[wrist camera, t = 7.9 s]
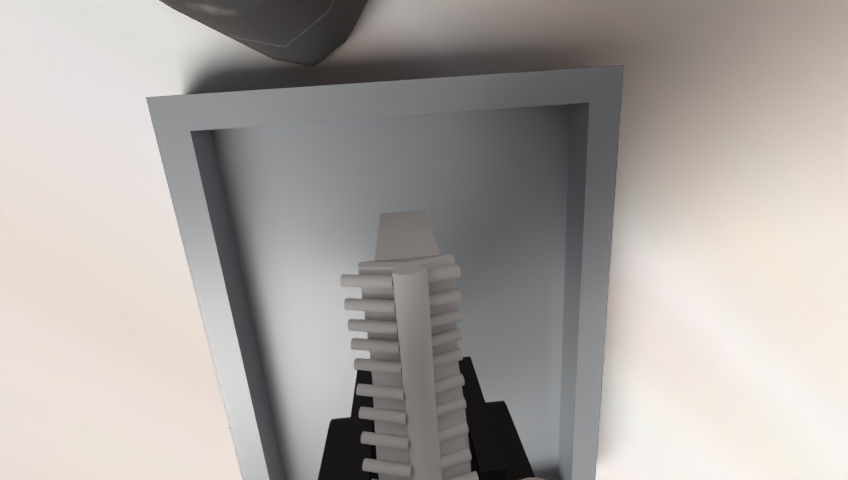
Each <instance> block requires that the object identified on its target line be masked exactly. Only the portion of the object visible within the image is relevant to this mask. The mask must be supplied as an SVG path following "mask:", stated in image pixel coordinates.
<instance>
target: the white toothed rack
mask: <svg viewBox="0 0 848 480" xmlns="http://www.w3.org/2000/svg"><path fill="white" fill-rule="evenodd" d="M358 271H359V275H353V274H342V275H341V278H340V284H341V286H343V287H361V292H362V299H356V298H346V299H345V301H344V309H345V310H354V311H364V313H365V320H363V319H349V321H348V330H349V331H363V332H367V336H368V339H362V338H353V339H352V340H351V349H352V350H364V351H369V353H370V359H363V358H356V359H355V360H354V369H355V370H365V371H371V373H372V383H373V385H369V384H358V385H357V389H356V394H357V395H360V396H369V397H373V404H374V408H370V407H360V409H359V418H360V419H368V420H374V426H375V433H373V432H365V431H363V432H362V434H361V443H362V444H370V445H376V455H377V460H375V459H368V458H365V459H364V461H363V465H362V470H363V471H368V472H374V473H378V478H379V480H479V478H478V474H477V472H476V471H474V472H471V462H470V460H471V459H472V456H471V452H470V449H469V440H468V432H469V429H468V425H467V421H466V412H465V408H466V401H465V398H464V397H463V390H462V386H463V385H465V381H464V377H463V375H462V374H460V370H459V364H458V361H460V360H462V359H463V355H462V351H461V349H460V348H458V349H457V341H459V340H462V333H461V330H460V329H459V328H457V326H456V322H459V321H461V319H462V317H461V312H460V310H459V309H456V301H460V300H461V292H460V290H459V289H458V288H456V285H455V278H457V277H460V275H461V271H460V267H459V265H457V264H456V265H455V259H454V256H453V254H446V255H441V254H440V252H439V249H438V246H437V243H436V241H435V238H434V235H433V232H432V230H431V227H430V224H429V221H428V219H427V216H426V213H425V210H419V211H406V212H394V213H382V214H380V219H379V227H378V236H377V244H376V253H375V261H368V262H359V265H358ZM372 480H377V479H372Z"/></svg>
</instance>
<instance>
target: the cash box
mask: <svg viewBox="0 0 848 480" xmlns="http://www.w3.org/2000/svg"><path fill="white" fill-rule="evenodd" d="M160 1H161V2H163V3H165V4H166V5H168V6H170V7H171V8H173V9H175V10H177V11H179V12H181V13H183V14H185V15H187V16H189V17H191V18H193V19H195V20H197V21H199V22H201V23H203V24H205V25H207V26H209V27H211V28H212V29H214V30H216V31H218V32H220V33H222V34H224V35H226V36H228V37H230V38H232V39H234V40H236V41H238V42H240V43H242V44H244V45H246V46H248V47H250V48H252V49H254V50H256V51H258V52H260V53H262V54H264V55H266V56H268V57H270V58H272V59H275V60H281V61H286V62H292V63H298V64H304V65H309V66H315V65H317V64H318V63H319V62H320V61H321V60H323V59H324V58H325V57H326V56H328V55H329V54H330V53H331V52H333V51H334V50H335V49H336V48H338V47H339V46H340V45H341V44H342V43H344V42H345V41H346V39H347V37H348V35H349V33H350V31H351V29H352V27H353V25H354V23H355V22H356V20H357V18H358V16H359V14H360V12H361V10H362V8H363V6H364V4H365V2H366V0H160Z"/></svg>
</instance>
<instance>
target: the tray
mask: <svg viewBox="0 0 848 480" xmlns="http://www.w3.org/2000/svg"><path fill="white" fill-rule="evenodd" d="M622 79H623V65H619V66H604V67H589V68H575V69H560V70H545V71H530V72H515V73H500V74H485V75H470V76H456V77H441V78H426V79H411V80H396V81H381V82H366V83H351V84H337V85H322V86H307V87H292V88H277V89H262V90H247V91H232V92H218V93H203V94H188V95H173V96H158V97H146V99H147V103H148V107H149V111H150V115H151V119H152V123H153V127H154V131H155V135H156V139H157V143H158V147H159V151H160V155H161V159H162V163H163V167H164V171H165V175H166V179H167V183H168V187H169V190H170V194H171V198H172V202H173V206H174V210H175V214H176V218H177V222H178V226H179V230H180V234H181V238H182V242H183V246H184V250H185V254H186V258H187V262H188V266H189V270H190V274H191V278H192V282H193V286H194V289H195V293H196V297H197V301H198V305H199V309H200V313H201V317H202V321H203V325H204V329H205V333H206V337H207V341H208V345H209V349H210V353H211V357H212V361H213V365H214V369H215V373H216V377H217V381H218V385H219V388H220V392H221V396H222V400H223V404H224V408H225V412H226V416H227V420H228V424H229V428H230V432H231V436H232V440H233V444H234V448H235V452H236V456H237V460H238V464H239V468H240V472H241V476H242V480H318V476H319V471H320V466H321V462H322V457H323V452H324V447H325V443H326V438H327V433H328V428H329V424H330V421H331V420H332V419H338V418H347V417H351V411H352V404H353V397H354V390H355V383H356V376H357V370H355V369H354V360H355V359H356V358H363V359H370V353H369V351H364V350H352V349H351V340H352V339H353V338H362V339H368V336H367V332H363V331H349V330H348V321H349V319H363V320H365V313H364V311H354V310H345V309H344V301H345V299H346V298H356V299H362V292H361V287H343V286H341V284H340V278H341V275H342V274H353V275H359V271H358V265H359V262H368V261H375V253H376V244H377V236H378V227H379V219H380V214H382V213H394V212H406V211H419V210H425V213H426V216H427V219H428V221H429V224H430V227H431V230H432V232H433V235H434V238H435V241H436V243H437V246H438V249H439V252H440V254H441V255H446V254H453V256H454V259H455V265H456V264H457V265H459V267H460V271H461V275H460V277H457V278H455V285H456V288H458V289H459V290H460V292H461V300H460V301H456V309H459V310H460V312H461V317H462V319H461V321H459V322H456V326H457V328H459V329H460V330H461V333H462V340H459V341H457V349H458V348H460V349H461V351H462V355H463V357H469V356H470V357H471V360H472V363H473V366H474V369H475V372H476V375H477V378H478V381H479V385H480V388H481V391H482V394H483V397H484V400H485V402H495V401H504V402H505V403H506V405H507V407H508V410H509V412H510V415H511V417H512V420H513V422H514V425H515V427H516V430H517V432H518V435H519V438H520V440H521V443H522V445H523V448H524V450H525V453H526V455H527V458H528V460H529V463H530V465H531V468H532V470H533V473H534V475H535V478H542V479H545V480H595V475H596V460H597V446H598V431H599V416H600V402H601V387H602V372H603V358H604V343H605V328H606V314H607V299H608V284H609V269H610V255H611V240H612V225H613V211H614V196H615V181H616V167H617V152H618V137H619V123H620V108H621V93H622Z"/></svg>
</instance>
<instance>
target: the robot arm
mask: <svg viewBox="0 0 848 480" xmlns="http://www.w3.org/2000/svg"><path fill="white" fill-rule="evenodd" d="M458 364H459V370H460V374H462V375H463V377H464V381H465V385H463V386H462V390H463V397H464V398H465V401H466V408H465V412H466V421H467V425H468V429H469V432H468V440H469V449H470V452H471V456H472V459H471V460H470V462H471V472H474V471H476V472H477V474H478V478H479V480H545V479H542V478H535V475H534V473H533V470H532V468H531V465H530V463H529V460H528V458H527V455H526V453H525V450H524V448H523V445H522V443H521V440H520V438H519V435H518V432H517V430H516V427H515V425H514V422H513V420H512V417H511V415H510V412H509V410H508V407H507V405H506V403H505V402H504V401H495V402H485V400H484V397H483V394H482V391H481V388H480V385H479V381H478V378H477V375H476V372H475V369H474V366H473V363H472V360H471V357H470V356H469V357H463V359H462V360H460V361H458ZM358 384H369V385H373V383H372V373H371V371H365V370H357V376H356V383H355V390H354V397H353V404H352V411H351V417H347V418H338V419H332V420H331V421H330V424H329V428H328V433H327V438H326V443H325V447H324V452H323V457H322V462H321V466H320V471H319V476H318V480H372V479H377V480H379V478H378V473H374V472H368V471H363V470H362V465H363V461H364V459H365V458H368V459H375V460H377V455H376V445H370V444H362V443H361V434H362V432H363V431H365V432H373V433H375V426H374V420H368V419H360V418H359V409H360V407H370V408H374V404H373V397H369V396H360V395H357V394H356V389H357V385H358Z"/></svg>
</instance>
